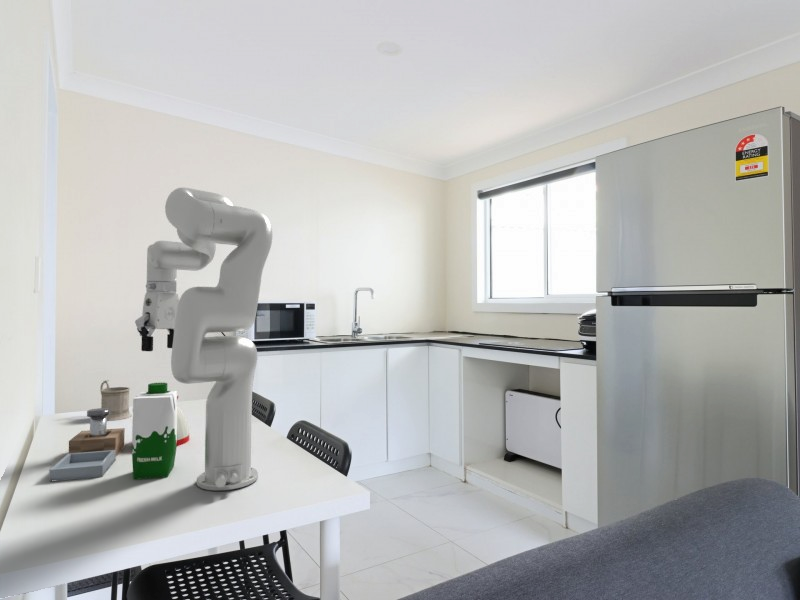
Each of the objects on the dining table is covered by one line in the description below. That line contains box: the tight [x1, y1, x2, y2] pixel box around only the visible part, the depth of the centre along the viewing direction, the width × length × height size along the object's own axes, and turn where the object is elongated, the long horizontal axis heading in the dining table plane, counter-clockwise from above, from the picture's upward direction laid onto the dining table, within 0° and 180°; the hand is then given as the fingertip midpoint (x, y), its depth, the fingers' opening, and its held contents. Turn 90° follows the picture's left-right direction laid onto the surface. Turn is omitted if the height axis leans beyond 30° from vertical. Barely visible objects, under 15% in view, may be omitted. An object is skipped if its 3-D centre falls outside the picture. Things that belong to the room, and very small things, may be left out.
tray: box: [48, 450, 117, 482], centre depth 109 cm, size 12×10×2 cm
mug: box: [100, 379, 133, 422], centre depth 163 cm, size 14×10×12 cm
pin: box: [86, 407, 110, 437], centre depth 122 cm, size 5×5×11 cm
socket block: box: [68, 427, 126, 457], centre depth 122 cm, size 10×10×5 cm
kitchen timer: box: [177, 395, 190, 447], centre depth 133 cm, size 14×14×15 cm
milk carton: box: [131, 382, 178, 481], centre depth 108 cm, size 9×9×20 cm
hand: (160, 349), depth 132 cm, fingers open, 9 cm apart
